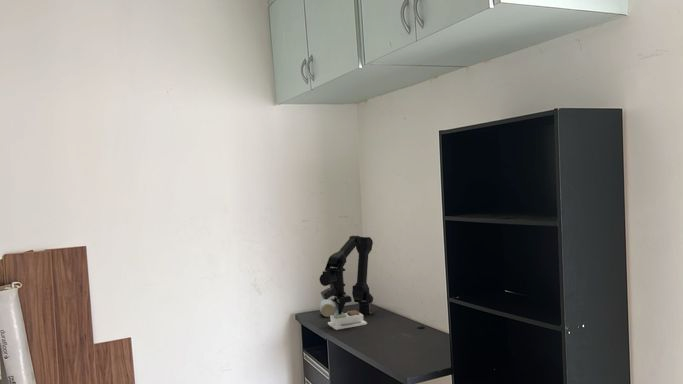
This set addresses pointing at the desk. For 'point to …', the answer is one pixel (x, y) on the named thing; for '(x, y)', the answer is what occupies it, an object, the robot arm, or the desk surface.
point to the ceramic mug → (327, 308)
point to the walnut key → (352, 313)
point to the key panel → (346, 321)
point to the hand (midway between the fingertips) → (339, 313)
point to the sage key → (339, 315)
